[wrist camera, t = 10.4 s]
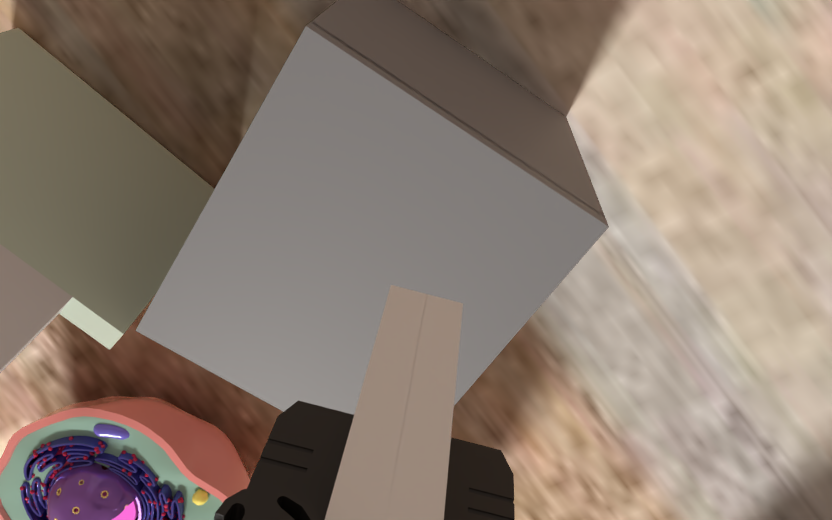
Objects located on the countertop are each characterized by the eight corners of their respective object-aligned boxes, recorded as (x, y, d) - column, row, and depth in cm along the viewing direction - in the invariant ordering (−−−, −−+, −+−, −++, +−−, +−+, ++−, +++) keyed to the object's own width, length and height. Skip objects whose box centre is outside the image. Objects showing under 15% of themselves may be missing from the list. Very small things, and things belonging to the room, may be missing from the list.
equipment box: (566, 117, 44) (608, 226, 30) (418, 308, 51) (395, 473, 36) (365, -22, 41) (305, 25, 27) (237, 199, 48) (135, 330, 34)
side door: (18, 27, 44) (-356, 140, 24) (229, 200, 48) (56, 419, 28) (8, 42, 44) (-366, 165, 25) (218, 213, 48) (40, 436, 29)
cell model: (132, 557, 64) (66, 682, 54) (10, 369, 56) (-94, 475, 46) (314, 523, 60) (282, 650, 50) (213, 318, 52) (149, 421, 42)
